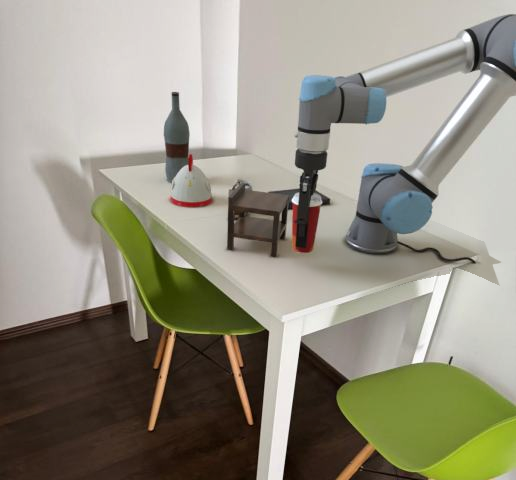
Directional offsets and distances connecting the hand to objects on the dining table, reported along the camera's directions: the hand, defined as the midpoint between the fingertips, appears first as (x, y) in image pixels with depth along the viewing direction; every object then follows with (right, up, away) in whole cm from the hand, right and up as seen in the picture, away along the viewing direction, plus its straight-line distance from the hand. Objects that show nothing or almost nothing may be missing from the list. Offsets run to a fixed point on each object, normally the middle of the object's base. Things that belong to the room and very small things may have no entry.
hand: (303, 241), depth 132 cm
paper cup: (0, -2, +1) cm, 2 cm away
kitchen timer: (-35, +23, +42) cm, 59 cm away
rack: (-12, +2, +14) cm, 19 cm away
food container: (-17, +15, +32) cm, 39 cm away
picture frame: (+2, +24, +47) cm, 53 cm away
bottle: (-42, +35, +59) cm, 80 cm away
